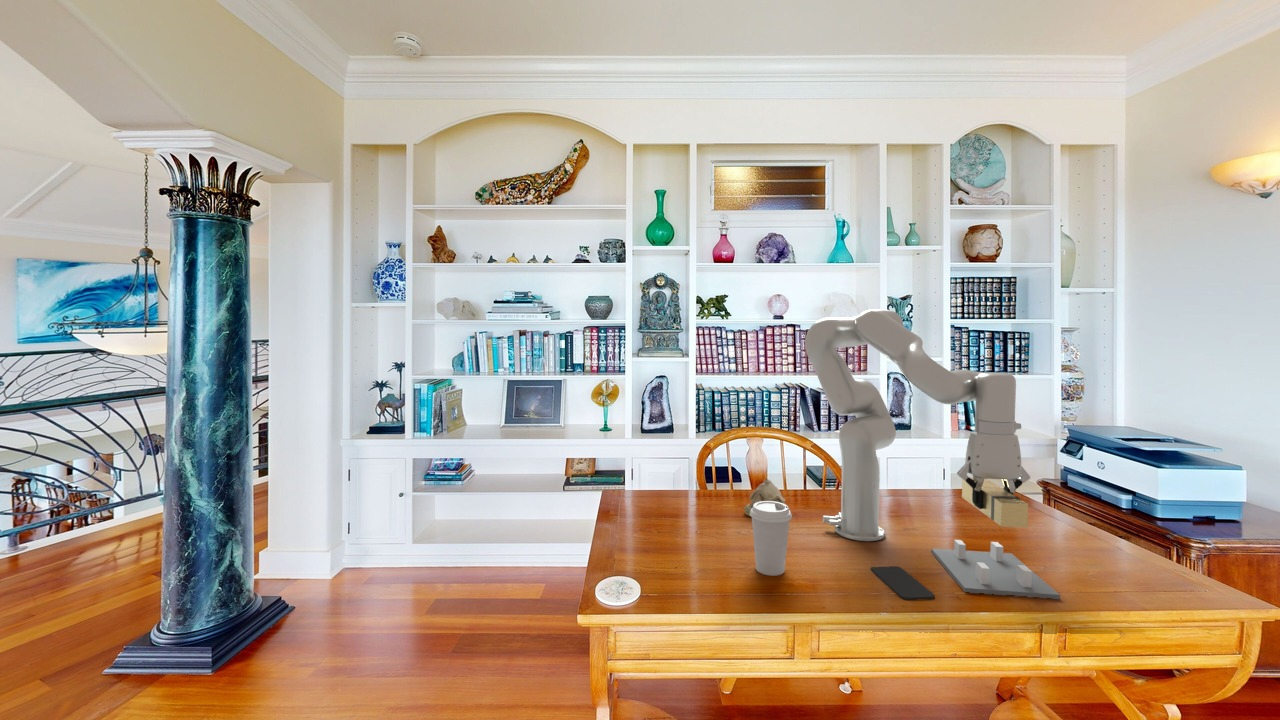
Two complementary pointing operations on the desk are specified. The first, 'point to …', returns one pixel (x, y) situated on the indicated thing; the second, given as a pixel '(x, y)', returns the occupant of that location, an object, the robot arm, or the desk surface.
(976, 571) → the peg plate
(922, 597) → the phone
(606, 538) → the desk surface
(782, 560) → the coffee cup
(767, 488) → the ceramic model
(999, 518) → the tan long bar
